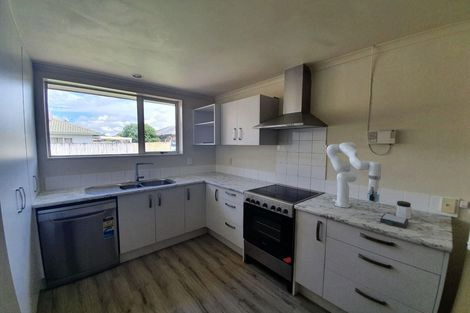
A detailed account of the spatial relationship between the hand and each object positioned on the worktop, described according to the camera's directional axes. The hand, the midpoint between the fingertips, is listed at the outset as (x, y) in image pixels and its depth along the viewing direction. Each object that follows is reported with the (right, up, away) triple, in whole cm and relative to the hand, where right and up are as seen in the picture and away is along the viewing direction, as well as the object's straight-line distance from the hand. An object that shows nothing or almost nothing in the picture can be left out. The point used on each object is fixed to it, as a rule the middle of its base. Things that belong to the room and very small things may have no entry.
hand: (373, 199), depth 147 cm
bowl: (0, -1, 0) cm, 1 cm away
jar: (+25, -15, +2) cm, 29 cm away
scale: (+10, -15, -8) cm, 20 cm away
